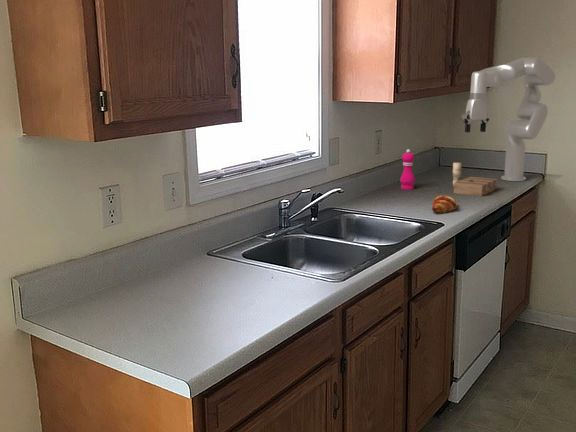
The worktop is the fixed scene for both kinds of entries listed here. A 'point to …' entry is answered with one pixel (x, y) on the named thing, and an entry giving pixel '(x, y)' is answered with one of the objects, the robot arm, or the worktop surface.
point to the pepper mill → (407, 171)
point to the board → (475, 186)
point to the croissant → (444, 204)
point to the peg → (456, 172)
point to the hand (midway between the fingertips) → (475, 132)
